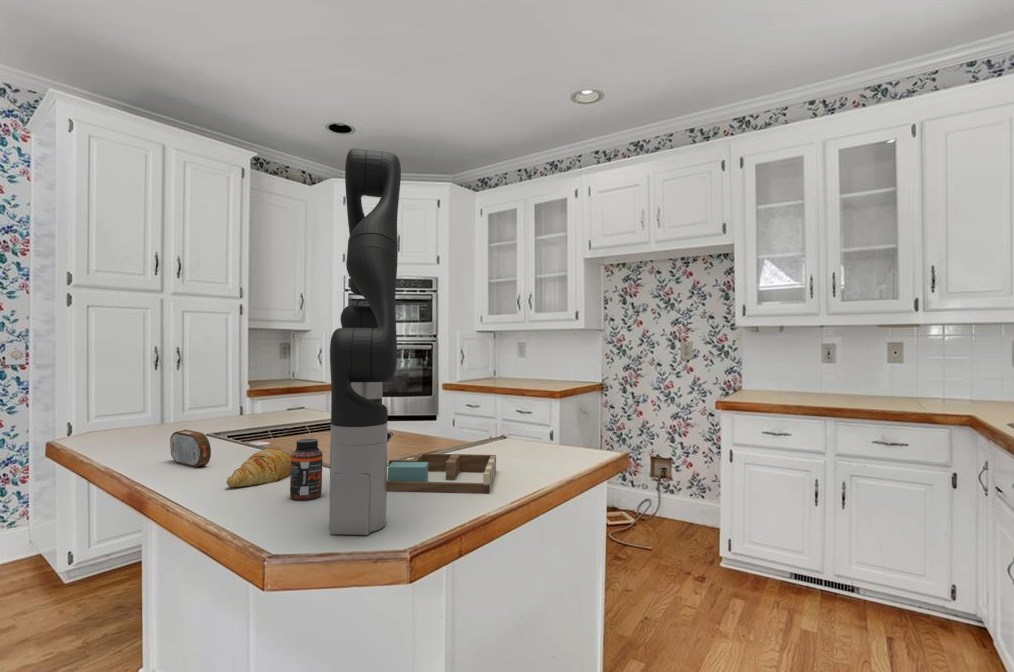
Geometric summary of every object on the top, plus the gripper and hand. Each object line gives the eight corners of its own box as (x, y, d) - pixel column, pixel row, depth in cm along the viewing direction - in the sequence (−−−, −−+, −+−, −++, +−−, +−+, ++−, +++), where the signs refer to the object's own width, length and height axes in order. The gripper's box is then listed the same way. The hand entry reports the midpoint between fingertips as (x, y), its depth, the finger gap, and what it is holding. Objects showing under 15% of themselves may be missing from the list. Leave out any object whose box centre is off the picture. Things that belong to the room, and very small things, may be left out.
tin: (211, 467, 130) (212, 433, 130) (198, 470, 128) (199, 435, 128) (180, 460, 138) (180, 427, 138) (167, 462, 136) (167, 429, 136)
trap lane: (489, 493, 109) (489, 473, 109) (375, 490, 110) (375, 471, 111) (495, 471, 128) (496, 454, 128) (398, 469, 130) (398, 453, 130)
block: (425, 488, 113) (425, 467, 114) (387, 488, 113) (387, 467, 113) (428, 482, 118) (428, 462, 119) (392, 482, 118) (392, 462, 118)
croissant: (239, 508, 109) (254, 475, 108) (204, 482, 112) (219, 450, 111) (305, 481, 130) (318, 453, 129) (275, 459, 132) (288, 432, 131)
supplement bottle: (311, 502, 102) (312, 443, 102) (283, 500, 103) (284, 441, 104) (327, 493, 108) (328, 438, 108) (301, 491, 109) (302, 436, 110)
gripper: (328, 397, 113) (327, 478, 113) (389, 398, 113) (388, 480, 113) (341, 393, 121) (340, 470, 121) (398, 394, 120) (397, 471, 120)
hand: (363, 474), depth 117 cm, fingers closed
